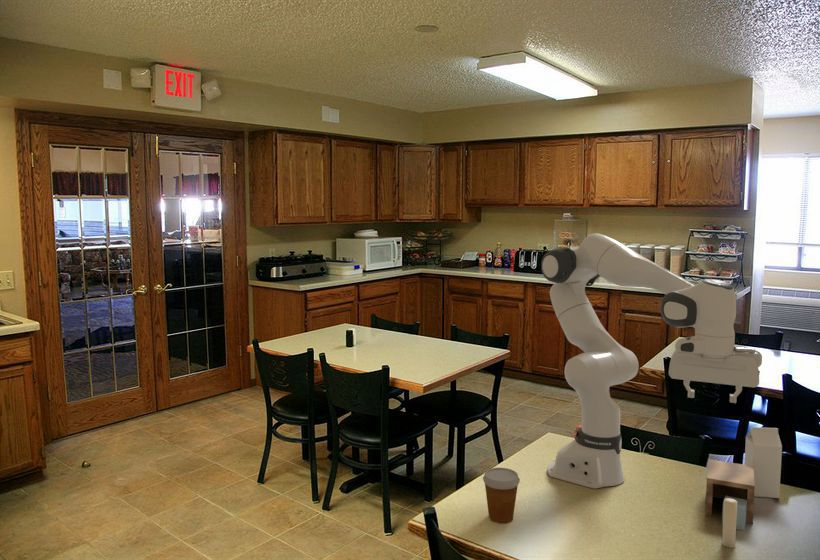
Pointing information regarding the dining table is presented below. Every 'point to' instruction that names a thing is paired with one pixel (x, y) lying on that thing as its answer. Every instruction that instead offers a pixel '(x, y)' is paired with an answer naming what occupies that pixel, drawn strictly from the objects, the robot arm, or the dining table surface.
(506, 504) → the disposable coffee cup
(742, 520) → the cream rounded block
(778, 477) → the milk carton
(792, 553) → the dining table surface
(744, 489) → the walnut cubby
